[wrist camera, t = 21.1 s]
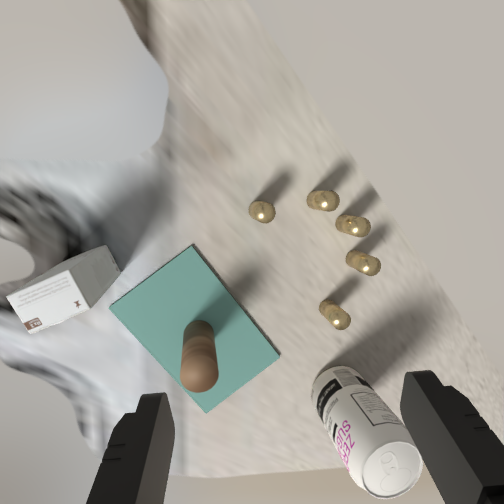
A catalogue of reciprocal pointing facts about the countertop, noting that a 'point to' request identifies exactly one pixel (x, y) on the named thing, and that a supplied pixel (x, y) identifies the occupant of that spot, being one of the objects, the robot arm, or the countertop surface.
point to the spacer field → (343, 224)
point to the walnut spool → (199, 357)
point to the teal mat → (186, 311)
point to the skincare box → (65, 289)
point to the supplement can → (366, 433)
